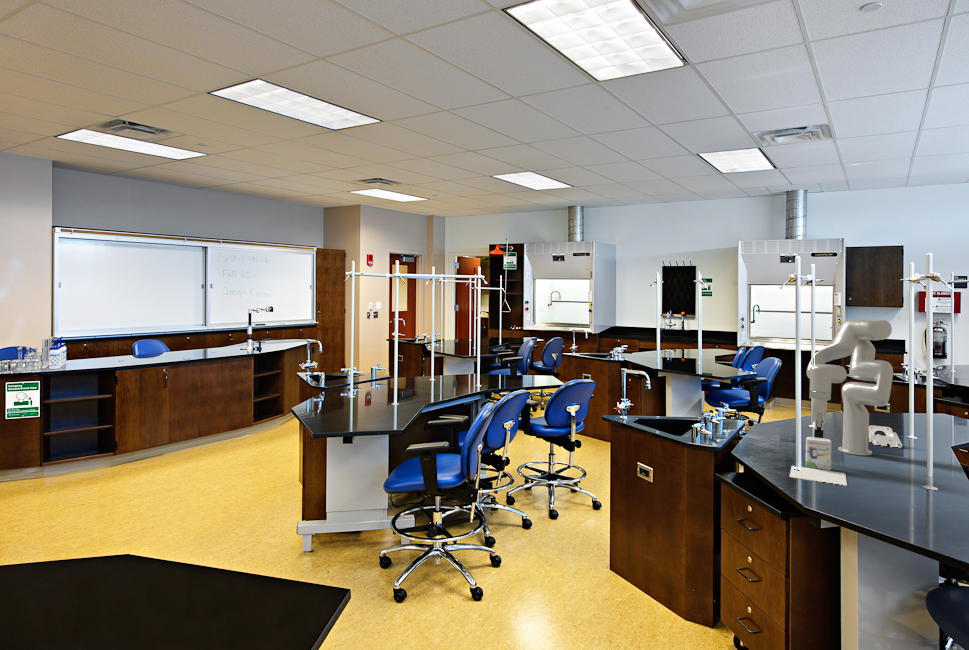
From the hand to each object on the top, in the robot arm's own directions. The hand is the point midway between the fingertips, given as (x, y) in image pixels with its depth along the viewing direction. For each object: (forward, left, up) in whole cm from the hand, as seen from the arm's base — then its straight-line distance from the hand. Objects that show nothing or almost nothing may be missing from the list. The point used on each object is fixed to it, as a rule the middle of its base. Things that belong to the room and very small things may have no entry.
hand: (818, 439), depth 223 cm
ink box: (+9, 0, -10) cm, 13 cm away
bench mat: (+21, 0, -10) cm, 24 cm away
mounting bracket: (-57, +27, -10) cm, 64 cm away
